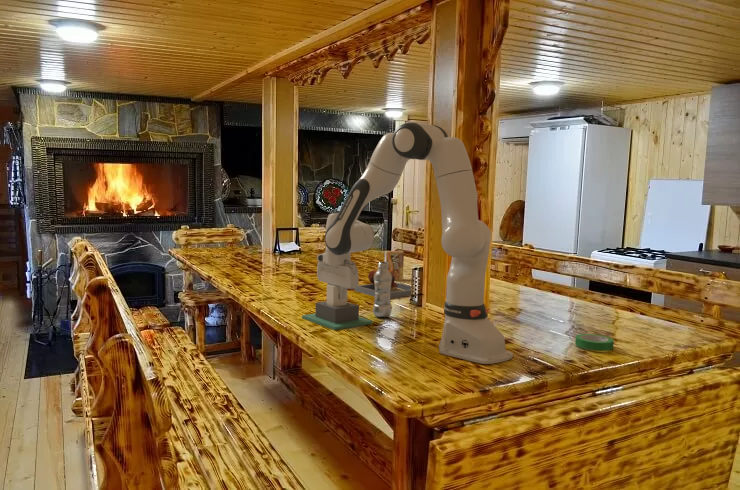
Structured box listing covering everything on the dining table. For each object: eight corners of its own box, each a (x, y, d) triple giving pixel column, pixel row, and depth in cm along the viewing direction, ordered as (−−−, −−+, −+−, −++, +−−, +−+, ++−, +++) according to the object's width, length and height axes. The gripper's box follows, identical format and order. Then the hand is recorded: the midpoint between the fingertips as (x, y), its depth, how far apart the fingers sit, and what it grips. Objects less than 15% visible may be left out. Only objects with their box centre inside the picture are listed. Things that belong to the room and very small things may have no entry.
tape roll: (575, 339, 188) (576, 331, 188) (612, 344, 184) (613, 335, 184) (574, 348, 178) (575, 340, 177) (613, 353, 174) (614, 344, 173)
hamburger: (388, 296, 250) (388, 273, 248) (362, 293, 255) (363, 271, 254) (403, 291, 263) (404, 269, 262) (379, 288, 269) (379, 266, 268)
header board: (372, 323, 201) (372, 306, 200) (334, 330, 191) (335, 312, 190) (338, 312, 216) (338, 296, 215) (302, 318, 206) (302, 301, 205)
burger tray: (422, 295, 254) (423, 288, 254) (384, 300, 240) (384, 293, 240) (392, 287, 270) (392, 281, 269) (354, 292, 256) (354, 285, 256)
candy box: (400, 281, 289) (401, 250, 287) (403, 282, 285) (404, 251, 283) (383, 281, 287) (384, 250, 285) (385, 283, 283) (386, 251, 281)
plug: (346, 310, 203) (347, 285, 202) (332, 312, 200) (333, 286, 199) (340, 308, 206) (340, 283, 205) (326, 310, 203) (326, 285, 202)
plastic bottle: (389, 319, 207) (391, 264, 205) (371, 318, 208) (372, 263, 206) (392, 315, 213) (394, 261, 211) (374, 314, 215) (376, 260, 213)
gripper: (363, 261, 195) (362, 301, 196) (328, 254, 211) (327, 291, 212) (348, 262, 191) (347, 304, 192) (314, 255, 207) (313, 293, 208)
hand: (337, 297), depth 202 cm, fingers closed on plug, 4 cm apart
